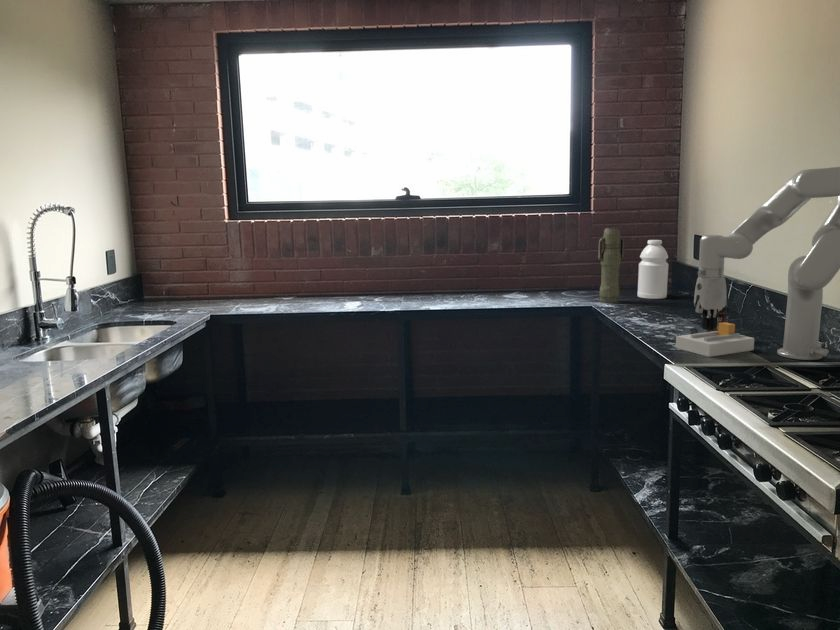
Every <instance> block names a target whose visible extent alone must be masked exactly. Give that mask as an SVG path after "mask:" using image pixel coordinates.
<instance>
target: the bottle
mask: <svg viewBox="0 0 840 630" xmlns="http://www.w3.org/2000/svg"><path fill="white" fill-rule="evenodd" d="M662 244H663V241H662V240H661V239H648V240H647V245H646V246H645V247H644V248H643V250H642V251H641V253H640V255H639V258H640V259H641V261H640V262H639V263H638V272H637V273H638V276H637V277H638V278H637V293H636V295H637V297H638V298H641V299H651V300H652V299H655V300H656V299H657V300H658V299H666V298H667V297H668V296H667V295H668V281H669V280H668V278H669V277H668V276H669V263H668V262H667V260H668V258H669V255H668V251H667V250H666V249H665V247H664V246H662Z"/></svg>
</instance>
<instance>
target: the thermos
mask: <svg viewBox="0 0 840 630" xmlns="http://www.w3.org/2000/svg"><path fill="white" fill-rule="evenodd" d="M602 235H603V236H602V237H601V238H600V239H598V256H597V258H598V260H599V261H600V266H601V276H600V277H601V280H600V282H601V283H600V287H599V302H600V303H601V304H602V303H603V304H617V303H619V297H620V286H619V279H620V278H619V277H620V275H619V274H620V266H621V261H622V260H624V254H625V253H624V251H625V240H624V238H623V237H621V233H620V228H618V227H610V226H609V227H606V228H605V229H604V230H603V233H602Z"/></svg>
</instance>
